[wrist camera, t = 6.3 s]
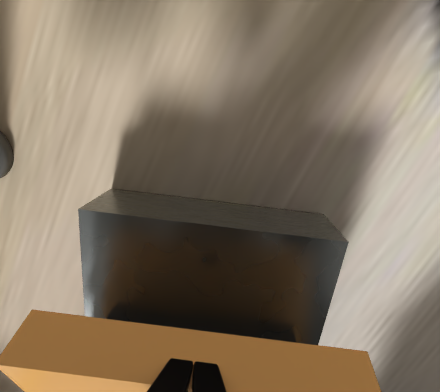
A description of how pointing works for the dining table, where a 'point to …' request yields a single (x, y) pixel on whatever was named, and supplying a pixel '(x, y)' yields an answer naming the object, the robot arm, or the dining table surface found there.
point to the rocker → (163, 351)
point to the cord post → (5, 155)
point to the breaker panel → (209, 265)
